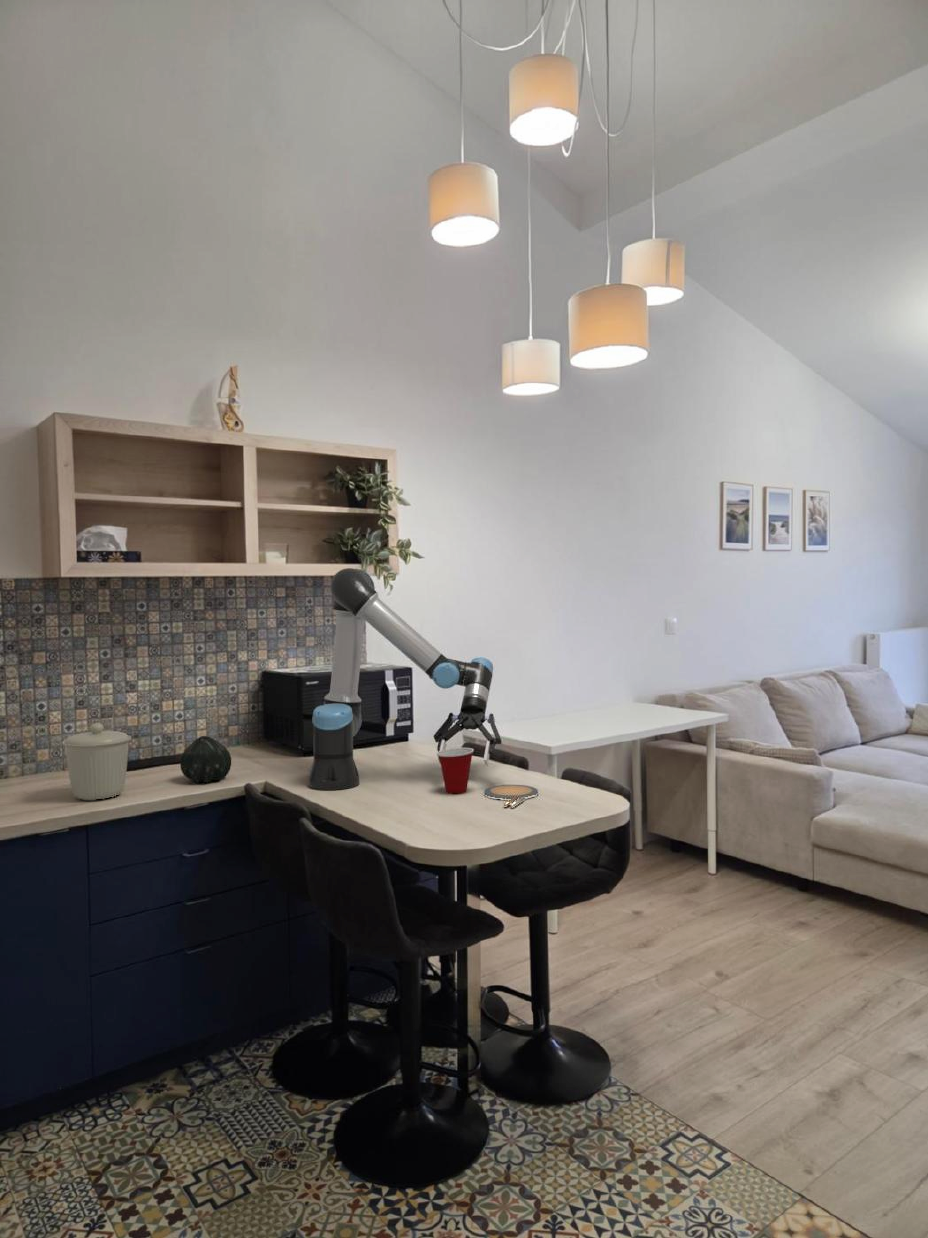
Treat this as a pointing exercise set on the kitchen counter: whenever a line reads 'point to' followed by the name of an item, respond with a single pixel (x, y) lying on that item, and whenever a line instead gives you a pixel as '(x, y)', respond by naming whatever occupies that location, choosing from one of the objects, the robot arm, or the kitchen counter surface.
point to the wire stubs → (513, 801)
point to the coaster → (510, 791)
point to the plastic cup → (455, 768)
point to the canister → (97, 762)
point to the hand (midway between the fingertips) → (462, 762)
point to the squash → (205, 760)
